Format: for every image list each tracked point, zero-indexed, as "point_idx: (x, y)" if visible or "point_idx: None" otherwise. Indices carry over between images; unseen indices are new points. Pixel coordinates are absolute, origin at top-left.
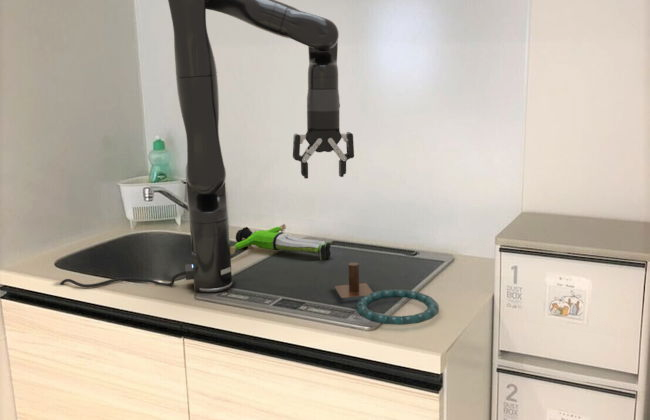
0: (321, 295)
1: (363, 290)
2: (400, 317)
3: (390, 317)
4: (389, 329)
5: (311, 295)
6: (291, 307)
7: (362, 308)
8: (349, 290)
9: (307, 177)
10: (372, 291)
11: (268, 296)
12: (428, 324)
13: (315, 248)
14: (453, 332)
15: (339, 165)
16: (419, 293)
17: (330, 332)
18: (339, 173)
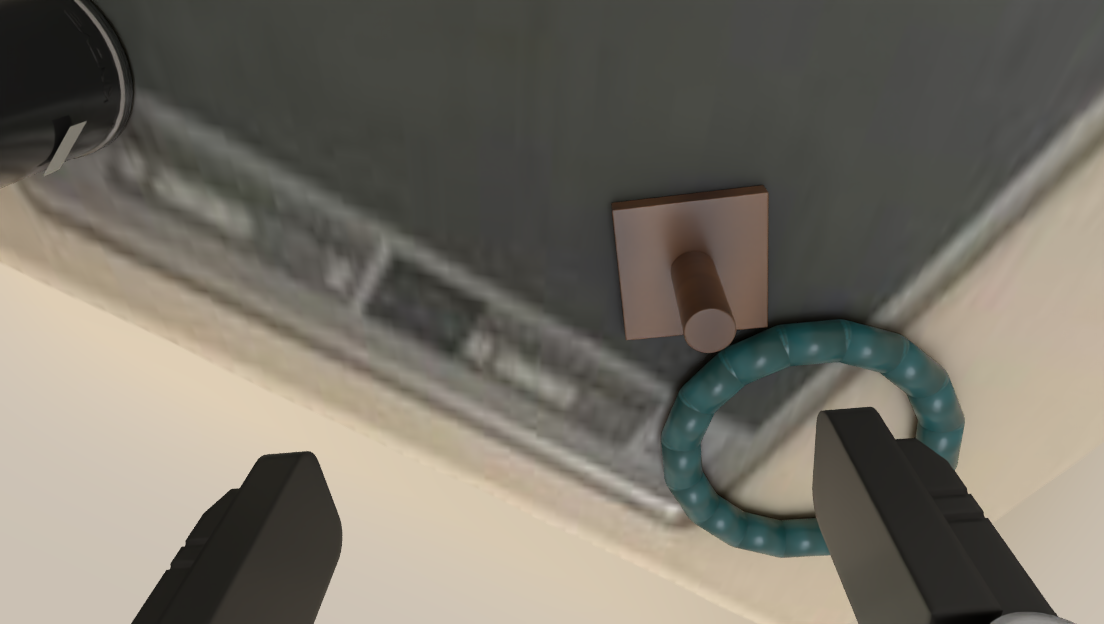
0: (553, 245)
1: (731, 279)
2: (779, 555)
3: (749, 548)
4: None
5: (511, 239)
6: (436, 342)
7: (678, 482)
8: (671, 278)
9: (333, 551)
10: (766, 295)
11: (331, 224)
12: None
13: None
14: None
15: (881, 567)
16: (933, 399)
17: (562, 522)
18: (828, 462)
